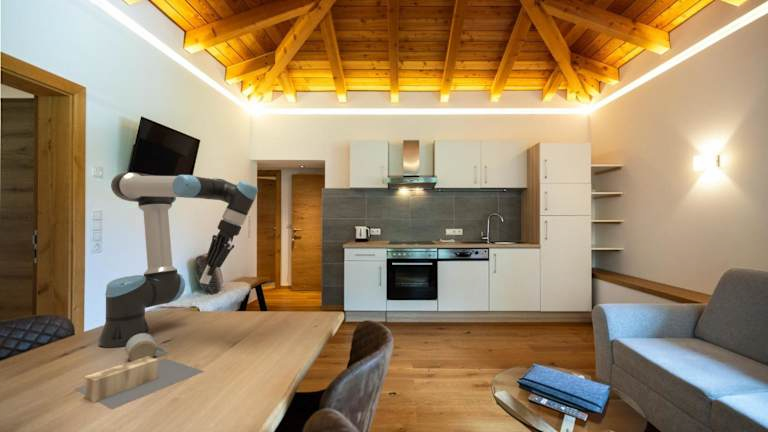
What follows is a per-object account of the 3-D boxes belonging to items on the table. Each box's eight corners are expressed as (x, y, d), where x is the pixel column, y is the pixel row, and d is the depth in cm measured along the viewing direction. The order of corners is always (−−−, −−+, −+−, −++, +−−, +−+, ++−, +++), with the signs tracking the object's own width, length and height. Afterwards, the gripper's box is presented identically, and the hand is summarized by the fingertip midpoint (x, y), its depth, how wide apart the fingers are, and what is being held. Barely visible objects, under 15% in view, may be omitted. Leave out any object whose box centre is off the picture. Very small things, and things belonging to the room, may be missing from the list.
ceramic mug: (127, 367, 99) (129, 342, 100) (125, 359, 105) (126, 335, 106) (169, 358, 107) (170, 334, 107) (164, 351, 113) (165, 328, 113)
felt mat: (74, 392, 84) (74, 388, 84) (165, 361, 104) (165, 358, 104) (112, 413, 75) (112, 409, 75) (204, 374, 94) (204, 371, 94)
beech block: (147, 374, 93) (84, 397, 80) (148, 356, 93) (84, 376, 80) (157, 377, 90) (93, 402, 78) (157, 359, 90) (94, 380, 78)
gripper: (249, 229, 120) (221, 291, 117) (233, 221, 128) (206, 278, 125) (230, 223, 114) (200, 287, 111) (214, 215, 122) (186, 274, 120)
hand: (203, 282), depth 118 cm, fingers closed
